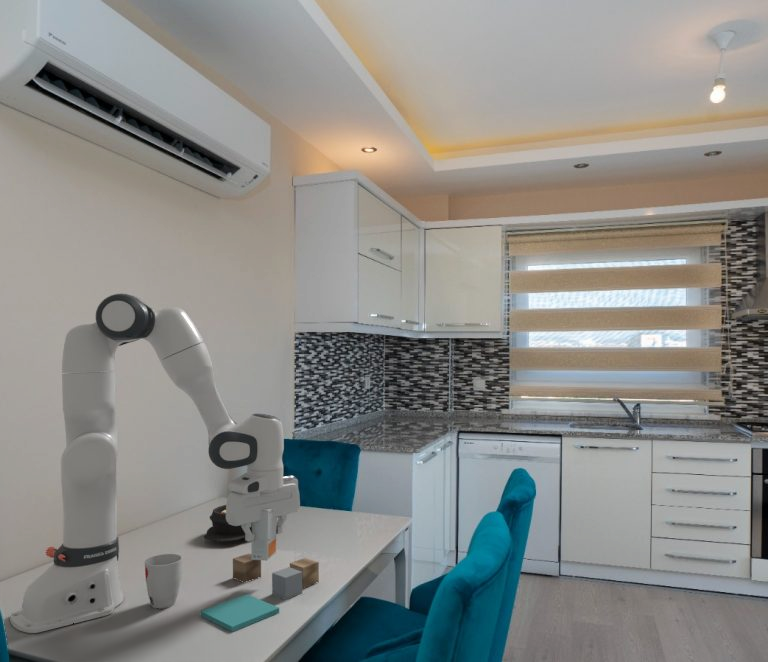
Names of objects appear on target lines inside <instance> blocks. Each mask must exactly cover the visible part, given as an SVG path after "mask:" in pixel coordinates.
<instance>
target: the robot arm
mask: <svg viewBox="0 0 768 662" xmlns="http://www.w3.org/2000/svg"><path fill="white" fill-rule="evenodd" d="M64 340H65V341H64V344H63V351H62V360H61V361H62V362H61V363H62V364H61V367H62V368H61V373H62V374H61V382H62V383H61V384H62V385H61V386H62V389H61V390H62V411H63V412H62V413H63V419H64V428H65V442H66V443H65V444H66V446H65V448H64V450H63V452H62V454H61V457H60V475H61V479H60V480H61V481H60V483H61V496H62V508H63V509H62V511H63V512H62V513H63V514H62V516H63V517H62V520H63V521H62V522H63V523H62V526H63V527H62V531H63V532H62V535H63V536H62V544H61V545H60V546H59V547H58V548H55V547H54V546H50V547H47V549H46V550H45V552H44V553H45V555H46V556H47V557H49V558H52V559H53V563H52V565H51V566H49V567H48V569H46V570H45V571H44V572H43V573H41V574H40V575H39V576H38V577H37V578H36V579H35V580H34V581H33V582H31V584H29V585H28V586H27V588H26V589H25V591H24V594H23V595H24V596H23V600H22V607H21V608H18V609H15V610H13V611H12V612H11V614H10V618H9V623H10V625H12V627H13V628H15V630H18V631H21V632H22V633H29V634H37V633H42V632H46V631H50V630H54V629H59V628H62V627H66V626H69V625H73V623H74V624H77V623H83V622H85V621H90V620H93V619H97V618H98V619H99V618H100V617H106V616H109V615H111V614H112V613H113V611H114V610H115V608H116V607H118V606H119V605H120V604H122V603H123V601H124V598H125V595H124V592H123V590H122V585H121V582H120V576H119V568H118V567H119V564H118V561H119V555H120V544H119V537H118V536H117V531H118V528H117V526H118V524H117V521H118V520H117V518H118V517H117V515H118V513H117V512H118V511H117V509H118V505H117V504H118V502H117V498H118V497H117V459H118V454H119V453H118V452H119V445H118V444H119V443H118V442H119V441H118V439H119V438H118V421H117V404H116V403H117V401H116V400H117V399H116V397H117V396H116V392H117V391H116V366H115V365H116V361H115V359H116V351H117V349H118V348H119V347H121V346H124V345H127V344H130V343H133V342H136V341H139V340H145V341H146V342H148V343H149V344H150V345H151V346H152V348H153V349H154V351H155V353H156V355H157V358H158V359H159V362H160V363H161V366H162V367H163V369H164V371H165V373H166V374H167V376H168V377H169V379H170V380H171V381H172V383H173V384H174V385H175V386H176V387H177V388H178V389H180V390H181V391H183V392H184V393H185V394H186V395H187V396H189V398H190V399H191V400H192V401H193V403H194V405H195V407H196V408H197V411H198V413H199V415H200V417H201V418H202V420H203V422H204V424H205V426H206V429H207V433H208V457H209V459H210V460H211V462H212V463H213V465H215V466H216V467H217V468H219V469H224V470H232V469H236V468H241V467H246V470H247V471H246V472H245V473H244V474H241V475H240V476H238V477H236V478H235V479H232V480H231V481H229V483H228V490H229V491H231V492H229V494H228V496H227V498H226V499H227V500H226V503H225V505H226V521H227V522H228V523H229V524H230V525H233V526H239V525H241V527H242V529H243V530H244V532H245V539H244V540H245V542H252V541H253V540H254V539H255V538H254V536H255V533H252V532H251V530H250V528H249V527H251V523H252V522H256V521H260V520H261V511H262V510H264V509H270V508H273V517H277V532H276V535H279V534H282V533H283V527H284V524H285V523H286V520H287V515H289V514H293V513H297V512H298V511H299V509H300V507H301V502H300V501H301V500H300V497H301V496H300V491H299V480H298V478H297V477H296V476H294V475H291V474H290V475H287V476H284V463H283V454H284V449H285V444H284V443H285V441H284V440H285V439H284V435H285V434H284V427H283V423H282V421H281V420H280V419H279V418H278V417H276V416H274V415H270V414H266V413H265V414H264V413H253V414H251V415H250V416H249V417H247V418H245V419H244V420H243V421H240V422H239V423H237V422H235V421H234V420H233V419H232V417H231V416H230V414H229V412H228V410H227V408H226V406H225V404H224V402H223V400H222V398H221V396H220V393H219V391H218V389H217V385H216V381H215V372H214V367H213V363H212V358H211V355H210V352H209V349H208V347H207V345H206V343H205V342H204V339H203V337H202V334H201V333H200V331H199V329H198V328H197V327H196V325H195V323H194V322H193V320H192V319H191V317H190V316H189V315H188V313H187V312H186V311H185V310H184V309H182V308H180V307H176V306H175V307H174V306H171V307H166V308H165V307H164V308H162V309H160V310H159V309H158V310H154V308H152V307H150V306H149V305H148V304H147V303H146V302H145V301H144V300H142V299H141V298H139V297H138V296H135V295H131V294H128V293H115V294H111V295H109V296H107V297H105V298H104V299H103V300H102V301H101V302H100V303H99V304H98V306H97V308H96V310H95V322H93V323H86V324H80V325H77V326H75V327H73V328H71V329H70V330H69V331H68V332H67V333H66V335H65V339H64Z"/></svg>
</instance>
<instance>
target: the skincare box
mask: <svg viewBox="0 0 768 662" xmlns="http://www.w3.org/2000/svg"><path fill="white" fill-rule="evenodd" d="M277 521H278V518H277V517H273V508H270V509H264V510H262V511H261V520H260V521H256V522H252V533H255V536H254V538H255V539H254V540H253V541H251V553H250V554H251V559H252V560H261V561H268V560H269V559H271V557H273V556H274V555H276V553H277V534H276V532H277Z"/></svg>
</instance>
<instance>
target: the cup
mask: <svg viewBox="0 0 768 662" xmlns="http://www.w3.org/2000/svg"><path fill="white" fill-rule="evenodd" d="M183 558H184V557H183V556H182V555H181V554H178V553H162V554H157V555H153V556H150V557H148V558H146V559H145V560H144V573H145V574H144V575H145V584H146V591H147V596H148V599H149V602H150V605H151V607H152V608H154V609H157V608H159V609H161V608H162V609H166V608H171V607H172V605H173V606H174V605H175V604H176V602H177V598H178V594H179V591H180V586H181V582H182V572H183V571H182V570H183ZM162 609H161V610H162Z"/></svg>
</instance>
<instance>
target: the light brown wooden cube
mask: <svg viewBox="0 0 768 662" xmlns="http://www.w3.org/2000/svg"><path fill="white" fill-rule="evenodd" d="M319 563H320V562H319V561H316V560H314V559H310V558H307V557H304V558H301V559H298V560H294V561H291V562H290V563H289V567H290V568H293V569H296V570H298V571H301V572H302V589H305V588H304V587H306V588H308V587H310V586H309V585H311V586H313V585H315V584H314V583H316V582H318V583H319V581H320V579H319V572H320V571H319V569H320V568H319V566H320V565H319ZM312 584H313V585H312ZM316 584H317V583H316ZM307 586H308V587H307Z"/></svg>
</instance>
